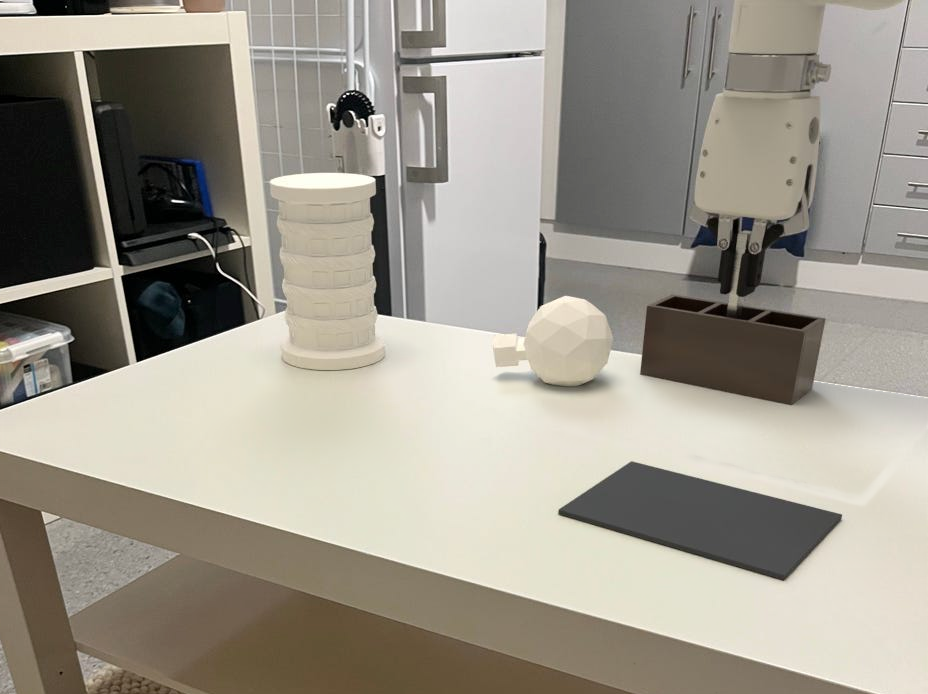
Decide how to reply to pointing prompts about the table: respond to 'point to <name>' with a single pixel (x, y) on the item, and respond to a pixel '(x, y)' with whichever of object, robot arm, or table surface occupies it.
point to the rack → (732, 348)
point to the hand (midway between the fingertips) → (737, 291)
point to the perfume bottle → (560, 343)
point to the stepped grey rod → (734, 300)
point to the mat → (705, 518)
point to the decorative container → (328, 270)
